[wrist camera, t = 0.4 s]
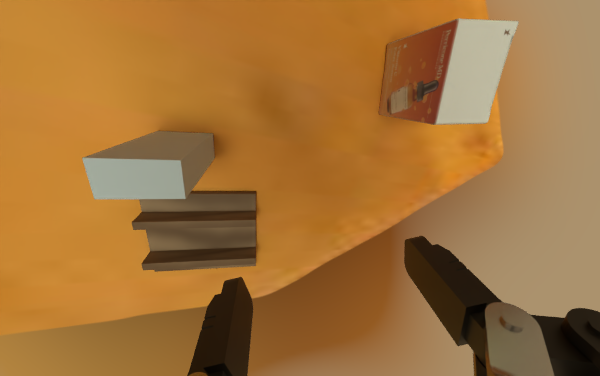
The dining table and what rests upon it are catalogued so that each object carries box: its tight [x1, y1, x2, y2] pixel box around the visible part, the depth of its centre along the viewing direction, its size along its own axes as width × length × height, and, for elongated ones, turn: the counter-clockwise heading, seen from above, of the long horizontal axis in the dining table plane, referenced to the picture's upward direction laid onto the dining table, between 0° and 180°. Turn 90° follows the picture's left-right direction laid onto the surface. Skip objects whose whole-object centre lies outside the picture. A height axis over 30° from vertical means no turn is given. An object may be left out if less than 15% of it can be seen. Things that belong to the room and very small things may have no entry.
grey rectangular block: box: [82, 131, 215, 199], centre depth 21 cm, size 3×6×12 cm, turn 86°
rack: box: [132, 191, 256, 271], centre depth 30 cm, size 12×14×3 cm
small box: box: [379, 19, 519, 125], centre depth 23 cm, size 8×6×10 cm
